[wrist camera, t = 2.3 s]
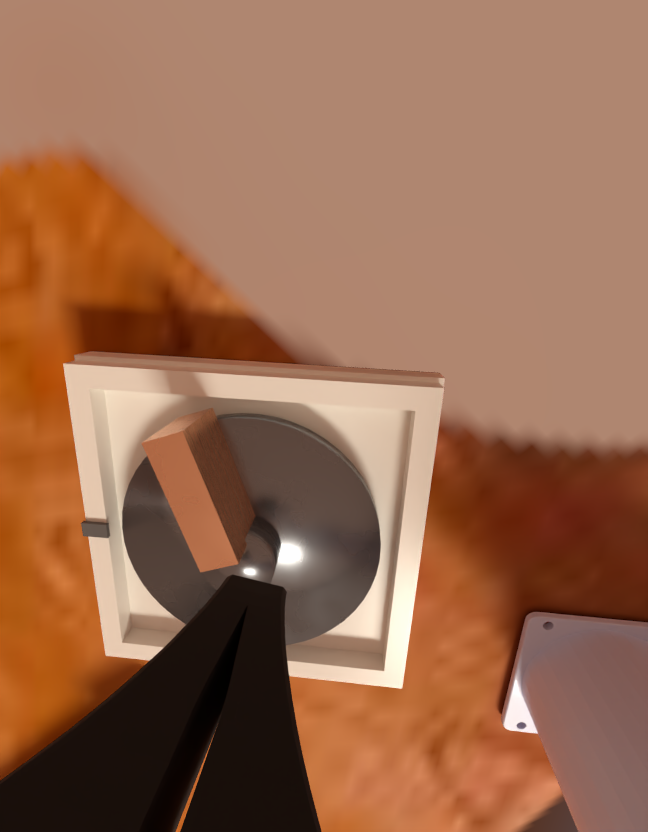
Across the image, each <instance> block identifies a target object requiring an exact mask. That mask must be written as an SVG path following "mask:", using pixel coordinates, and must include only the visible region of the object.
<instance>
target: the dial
mask: <svg viewBox="0 0 648 832" xmlns="http://www.w3.org/2000/svg"><path fill="white" fill-rule="evenodd" d="M142 446H143V448H144V450H145V452H146V454H147V456H146V457H145V458H144V460H143V461H142V463H141V464H140V465H139V467H138V468H137V469H136V471H135V473H134V475H133V477H132V479H131V481H130V483H129V485H128V489H127V492H126V495H125V498H124V504H123V511H122V530H123V537H124V543H125V546H126V550H127V553H128V557H129V559H130V561H131V564H132V566H133V568H134V570H135V572H136V574H137V575H138V577H139V579H140V580H141V582H142V584H143V585H144V586H145V588H146V589H147V590H148V591H149V593H150V594H151V595H152V596H153V597H154V598H155V599H156V601H157V602H158V603H159V604H160V605H161V606H162V607H164V608H165V609H166V610H167V611H168V612H169V613H171V614H172V615H173V616H174V617H176V618H177V619H179V620H180V621H182V622H183V623H185V624H187V623H188V622H189V621H190V620H191V619H192V618H193V617H194V616H195V615H196V614H197V613H198V612H199V610H200V609H201V608H202V607H203V606H204V605H205V604H206V603H207V602H208V600H209V599H210V598H211V597H212V596H213V594H214V593H215V592H216V591H217V590H218V588H219V587H220V586H221V585H222V583H223V582H224V580H225V579H226V578H227V577H228V576H230V575H232V574H233V575H237V576H241V577H245V578H249V579H253V580H257V581H261V582H266V583H270V584H274V585H278V586H282V587H284V589H285V590H286V592H287V594H286V601H285V641H286V645H291V644H295V643H299V642H304V641H307V640H309V639H312V638H315V637H318V636H320V635H322V634H324V633H326V632H328V631H330V630H332V629H333V628H334V627H336V626H337V625H339V624H340V623H342V622H343V621H344V620H345V619H347V618H348V617H349V616H350V615H351V614H352V613H353V612H354V611H355V610H356V609H357V608H358V606H359V605H360V604H361V603H362V601H363V600H364V599H365V597H366V595H367V594H368V592H369V590H370V588H371V586H372V584H373V581H374V579H375V576H376V574H377V569H378V565H379V561H380V550H381V540H380V527H379V519H378V514H377V510H376V505H375V503H374V500H373V497H372V495H371V492H370V490H369V488H368V486H367V484H366V483H365V481H364V479H363V477H362V476H361V474H360V473H359V472H358V470H357V469H356V468H355V466H354V465H353V464H352V462H351V461H350V460H349V459H348V458H347V457H346V456H345V455H344V454H343V453H342V452H341V451H340V450H339V449H338V448H336V447H335V446H334V445H333V444H331V443H330V442H329V441H328V440H326V439H325V438H323V437H321V436H320V435H318V434H317V433H315V432H313V431H312V430H310V429H308V428H305V427H303V426H301V425H299V424H296V423H294V422H291V421H288V420H285V419H281V418H278V417H274V416H268V415H262V414H252V413H234V414H223V415H218V416H216V415H215V412H214V409H213V408H209V409H206V410H202V411H199V412H195V413H192V414H189V415H185V416H182V417H178V418H177V419H175V420H174V421H172V422H171V423H169V424H168V425H167V426H165V427H164V428H162V429H161V430H159V431H158V432H156V433H155V434H154V435H152V436H151V437H149V438H148V439H146V440H145V441H143V442H142Z"/></svg>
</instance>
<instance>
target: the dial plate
mask: <svg viewBox="0 0 648 832" xmlns="http://www.w3.org/2000/svg"><path fill="white" fill-rule="evenodd" d="M74 357H75V361H72V362H68V363H64V364H63V365H64V372H65V379H66V386H67V393H68V400H69V407H70V414H71V420H72V427H73V434H74V441H75V448H76V455H77V462H78V469H79V475H80V482H81V489H82V496H83V503H84V510H85V517H86V521H83V522H82V523H81V525H82V531H83V536H88V537H89V544H90V551H91V558H92V565H93V572H94V579H95V585H96V592H97V599H98V606H99V613H100V620H101V627H102V634H103V640H104V647H105V654H106V656H114V657H123V658H132V659H141V660H151V659H152V658H153V657H154V656H155V655H156V654H157V653H158V652H160V651H161V650H162V649H163V648H164V647H165V646H166V645H167V644H168V643H169V642H170V641H171V640H172V639H173V638H174V637H175V636H176V635H177V634H178V633H179V632H180V631H181V629H182V628H183V627H184V626H185V625H186V624H185V623H183V622H182V621H180V620H179V619H177V618H176V617H174V616H173V615H172V614H171V613H169V612H168V611H167V610H166V609H165V608H164V607H162V606H161V605H160V604H159V603H158V602H157V601H156V599H155V598H154V597H153V596H152V595H151V594H150V593H149V591H148V590H147V589H146V588H145V586H144V585H143V584H142V582H141V580H140V579H139V577H138V575H137V574H136V572H135V570H134V568H133V566H132V564H131V561H130V559H129V557H128V553H127V550H126V546H125V543H124V537H123V530H122V511H123V504H124V498H125V495H126V492H127V489H128V485H129V483H130V481H131V479H132V477H133V475H134V473H135V471H136V469H137V468H138V467H139V465H140V464H141V463H142V461H143V460H144V458H145V457H146V456H147V454H146V452H145V450H144V448H143V446H142V442H143V441H145V440H146V439H148V438H149V437H151V436H152V435H154V434H155V433H156V432H158V431H159V430H161V429H162V428H164V427H165V426H167V425H168V424H169V423H171V422H172V421H174V420H175V419H177V418H178V417H182V416H185V415H189V414H192V413H195V412H199V411H202V410H206V409H209V408H213V409H214V412H215V415H216V416H218V415H223V414H234V413H252V414H262V415H268V416H274V417H278V418H281V419H285V420H288V421H291V422H294V423H296V424H299V425H301V426H303V427H305V428H308V429H310V430H312V431H313V432H315V433H317V434H318V435H320V436H321V437H323V438H325V439H326V440H328V441H329V442H330V443H331V444H333V445H334V446H335V447H336V448H338V449H339V450H340V451H341V452H342V453H343V454H344V455H345V456H346V457H347V458H348V459H349V460H350V461H351V462H352V464H353V465H354V466H355V468H356V469H357V470H358V472H359V473H360V474H361V476H362V477H363V479H364V481H365V483H366V484H367V486H368V488H369V490H370V492H371V495H372V497H373V500H374V503H375V505H376V510H377V514H378V519H379V527H380V540H381V550H380V561H379V565H378V569H377V574H376V576H375V579H374V581H373V584H372V586H371V588H370V590H369V592H368V594H367V595H366V597H365V599H364V600H363V601H362V603H361V604H360V605H359V606H358V608H357V609H356V610H355V611H354V612H353V613H352V614H351V615H350V616H349V617H348V618H347V619H345V620H344V621H343V622H342V623H340V624H339V625H337V626H336V627H334V628H333V629H332V630H330V631H328V632H326V633H324V634H322V635H320V636H318V637H315V638H312V639H309V640H307V641H304V642H299V643H295V644H291V645H286V654H287V663H288V672H289V676H294V677H303V678H312V679H321V680H330V681H339V682H348V683H357V684H366V685H375V686H384V687H393V688H402V686H403V678H404V671H405V664H406V657H407V650H408V643H409V636H410V629H411V622H412V615H413V607H414V600H415V593H416V586H417V579H418V572H419V565H420V558H421V551H422V544H423V536H424V529H425V522H426V515H427V508H428V501H429V494H430V487H431V480H432V473H433V465H434V458H435V451H436V444H437V437H438V430H439V423H440V416H441V409H442V402H443V394H444V381H445V378H444V377H443V376H442V375H441V374H440V373H433V372H418V371H402V370H386V369H370V368H353V367H337V366H321V365H305V364H289V363H273V362H257V361H241V360H225V359H208V358H192V357H176V356H160V355H144V354H128V353H112V352H96V351H90V352H86V353H81V354H77V355H74Z"/></svg>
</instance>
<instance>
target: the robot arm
mask: <svg viewBox="0 0 648 832" xmlns="http://www.w3.org/2000/svg"><path fill="white" fill-rule="evenodd" d="M286 594H287V592H286V590H285V589H284V587H282V586H278V585H274V584H270V583H266V582H261V581H257V580H253V579H249V578H245V577H241V576H237V575H233V574H232V575H230V576H228V577H227V578H226V579H225V580H224V582H223V583H222V585H221V586H220V587H219V588H218V590H217V591H216V592H215V593H214V594H213V596H212V597H211V598H210V599H209V600H208V602H207V603H206V604H205V605H204V606H203V607H202V608H201V609H200V610H199V612H198V613H197V614H196V615H195V616H194V617H193V618H192V619H191V620H190V621H189V622H188V623H187V624H186V625H185V626H184V627H183V628H182V629H181V631H180V632H179V633H178V634H177V635H176V636H175V637H174V638H173V639H172V640H171V641H170V642H169V643H168V644H167V645H166V646H165V647H164V648H163V649H162V650H161V651H160V652H158V653H157V654H156V655H155V656H154V657H153V658H152V659H151V660H150V661H149V662H148V663H147V664H146V665H144V666H143V667H142V668H141V669H140V670H139V671H138V672H137V673H136V674H135V675H134V676H133V677H131V678H130V679H129V680H128V681H127V682H126V683H125V684H124V685H122V686H121V687H120V688H119V689H118V690H117V691H115V692H114V693H113V694H112V695H111V696H110V697H108V698H107V699H106V700H105V701H104V702H103V703H101V704H100V705H99V706H98V707H96V708H95V709H94V710H93V711H92V712H90V713H89V714H88V715H87V716H85V717H84V718H83V719H82V720H80V721H79V722H78V723H77V724H75V725H74V726H73V727H72V728H70V729H69V730H68V731H66V732H65V733H64V734H62V735H61V736H60V737H58V738H57V739H56V740H55V741H53V742H52V743H51V744H49V745H48V746H47V747H45V748H44V749H43V750H41V751H40V752H39V753H37V754H36V755H35V756H33V757H32V758H31V759H29V760H28V761H27V762H25V763H24V764H23V765H21V766H20V767H18V768H17V769H16V770H14V771H13V772H12V773H10V774H9V775H7V776H6V777H5V778H3V779H2V780H0V832H176V829H177V826H178V824H179V821H180V818H181V816H182V813H183V811H184V808H185V806H186V803H187V800H188V798H189V795H190V793H191V790H192V788H193V785H194V783H195V780H196V778H197V775H198V773H199V770H200V768H201V765H202V763H203V760H204V758H205V755H206V753H207V750H208V748H209V745H210V743H211V740H212V738H213V740H212V743H211V746H210V749H209V751H208V754H207V757H206V760H205V763H204V766H203V769H202V772H201V775H200V777H199V780H198V783H197V786H196V789H195V792H194V794H193V797H192V800H191V803H190V806H189V809H188V811H187V814H186V817H185V820H184V823H183V826H182V829H181V831H180V832H321V828H320V824H319V821H318V817H317V813H316V809H315V805H314V801H313V797H312V793H311V790H310V785H309V781H308V777H307V772H306V768H305V764H304V759H303V755H302V750H301V745H300V740H299V735H298V730H297V725H296V719H295V713H294V707H293V701H292V695H291V688H290V681H289V672H288V663H287V654H286V641H285V601H286ZM546 622H549V623H547V624H544V623H546ZM501 721H502V724H503V726H504V728H506V729H508V730H511V731H520V732H529V733H537V734H538V735H539V737H540V739H541V742H542V744H543V747H544V749H545V752H546V754H547V757H548V759H549V761H550V764H551V766H552V769H553V771H554V774H555V776H556V778H557V781H558V783H559V786H560V788H561V791H562V793H563V795H564V798H565V800H566V803H567V805H568V808H569V810H570V813H571V815H572V817H573V820H574V822H575V825H576V827H577V829H578V832H648V622H637V621H627V620H617V619H606V618H596V617H586V616H576V615H565V614H555V613H545V612H532V613H529V614H528V615H527V616H526V618H525V622H524V626H523V630H522V634H521V638H520V642H519V646H518V650H517V654H516V659H515V663H514V667H513V671H512V675H511V679H510V683H509V687H508V691H507V695H506V699H505V703H504V707H503V712H502V716H501ZM215 730H216V731H215ZM214 733H215V734H214ZM213 735H214V737H213Z"/></svg>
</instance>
